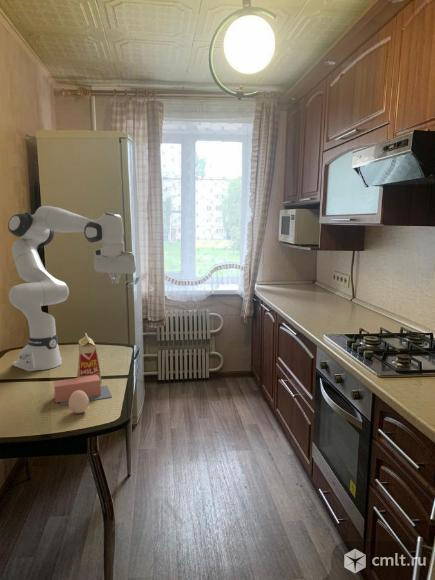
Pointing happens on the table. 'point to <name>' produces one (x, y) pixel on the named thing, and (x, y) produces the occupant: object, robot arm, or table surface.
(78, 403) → the egg
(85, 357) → the milk carton
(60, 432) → the table surface
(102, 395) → the mat
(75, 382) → the block
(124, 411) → the table surface
